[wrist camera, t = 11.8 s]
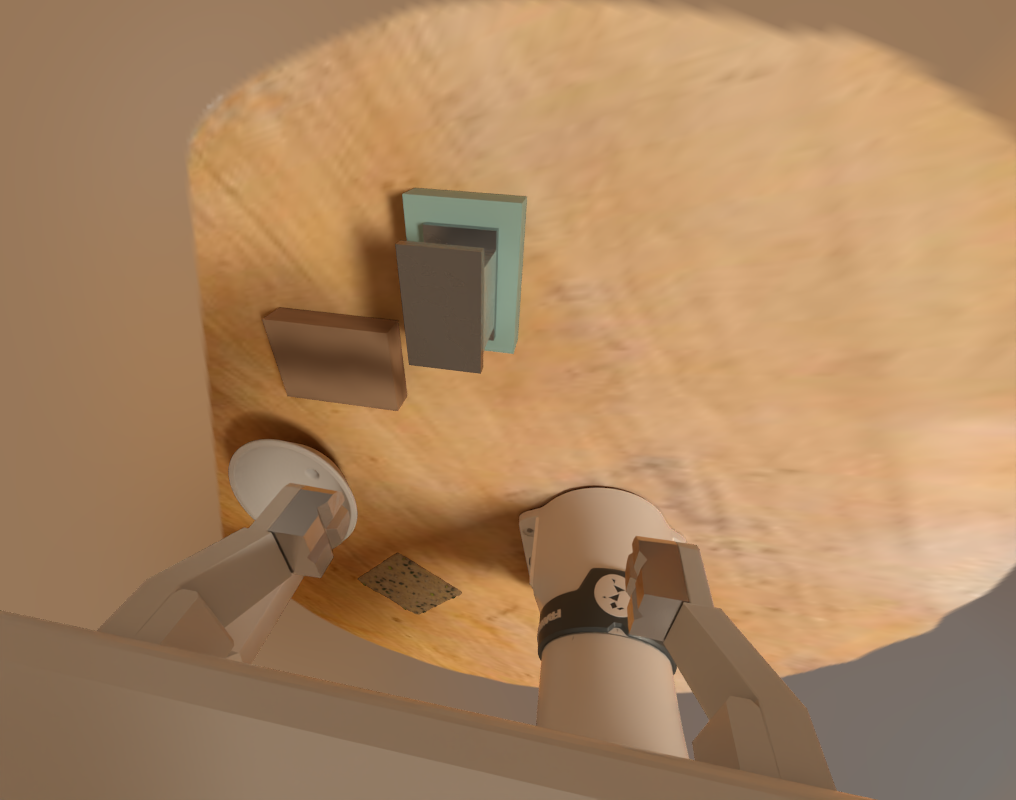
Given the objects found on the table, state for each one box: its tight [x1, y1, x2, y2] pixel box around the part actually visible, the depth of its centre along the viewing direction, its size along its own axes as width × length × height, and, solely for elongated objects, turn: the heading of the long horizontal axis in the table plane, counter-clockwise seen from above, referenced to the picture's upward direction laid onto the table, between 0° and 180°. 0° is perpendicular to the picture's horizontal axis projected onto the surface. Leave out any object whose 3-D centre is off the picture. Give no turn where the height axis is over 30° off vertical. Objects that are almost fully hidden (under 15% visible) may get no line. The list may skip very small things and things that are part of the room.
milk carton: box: [225, 574, 304, 664], centre depth 53 cm, size 7×7×19 cm
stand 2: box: [402, 188, 527, 354], centre depth 31 cm, size 11×8×2 cm
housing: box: [395, 222, 499, 374], centre depth 28 cm, size 5×8×6 cm, turn 177°
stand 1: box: [262, 308, 407, 411], centre depth 37 cm, size 8×11×2 cm
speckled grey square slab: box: [358, 553, 462, 614], centre depth 61 cm, size 12×12×1 cm
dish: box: [229, 439, 357, 541], centre depth 47 cm, size 18×14×5 cm
